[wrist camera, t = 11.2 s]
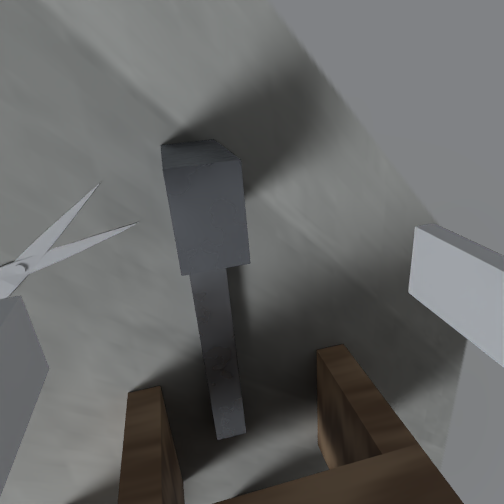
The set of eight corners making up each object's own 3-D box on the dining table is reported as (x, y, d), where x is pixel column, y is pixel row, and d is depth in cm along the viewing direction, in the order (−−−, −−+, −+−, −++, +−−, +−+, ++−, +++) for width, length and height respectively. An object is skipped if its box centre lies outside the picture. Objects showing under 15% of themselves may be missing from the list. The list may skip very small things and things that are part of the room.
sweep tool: (160, 145, 28) (162, 169, 19) (214, 139, 28) (240, 159, 19) (210, 427, 39) (226, 525, 30) (247, 418, 40) (273, 511, 31)
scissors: (-160, 302, 26) (69, 141, 26) (-151, 297, 27) (71, 140, 26) (-33, 388, 31) (164, 254, 30) (-29, 382, 32) (164, 251, 31)
